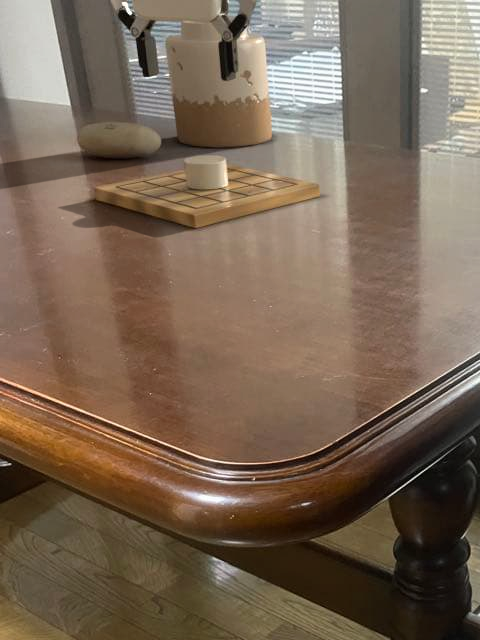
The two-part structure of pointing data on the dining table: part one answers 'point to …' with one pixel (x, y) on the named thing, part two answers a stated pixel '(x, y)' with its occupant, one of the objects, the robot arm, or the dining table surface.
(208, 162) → the cylinder
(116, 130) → the stone
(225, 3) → the robot arm
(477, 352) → the dining table surface
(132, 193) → the board
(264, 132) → the vase
